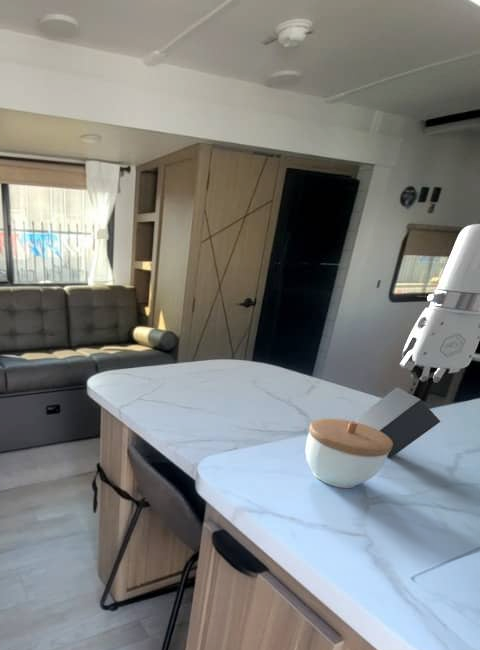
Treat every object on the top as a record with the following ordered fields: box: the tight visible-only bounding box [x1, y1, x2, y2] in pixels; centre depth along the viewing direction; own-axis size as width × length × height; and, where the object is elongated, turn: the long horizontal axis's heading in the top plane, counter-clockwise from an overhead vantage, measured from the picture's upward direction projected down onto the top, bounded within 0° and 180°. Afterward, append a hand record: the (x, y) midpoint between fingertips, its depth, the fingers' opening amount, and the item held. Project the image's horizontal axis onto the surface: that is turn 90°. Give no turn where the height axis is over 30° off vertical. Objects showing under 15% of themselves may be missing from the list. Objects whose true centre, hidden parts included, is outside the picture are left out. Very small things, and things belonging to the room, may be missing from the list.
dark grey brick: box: [353, 386, 441, 459], centre depth 82 cm, size 11×7×7 cm
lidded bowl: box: [304, 417, 393, 489], centre depth 72 cm, size 13×13×11 cm
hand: (415, 398), depth 80 cm, fingers closed
